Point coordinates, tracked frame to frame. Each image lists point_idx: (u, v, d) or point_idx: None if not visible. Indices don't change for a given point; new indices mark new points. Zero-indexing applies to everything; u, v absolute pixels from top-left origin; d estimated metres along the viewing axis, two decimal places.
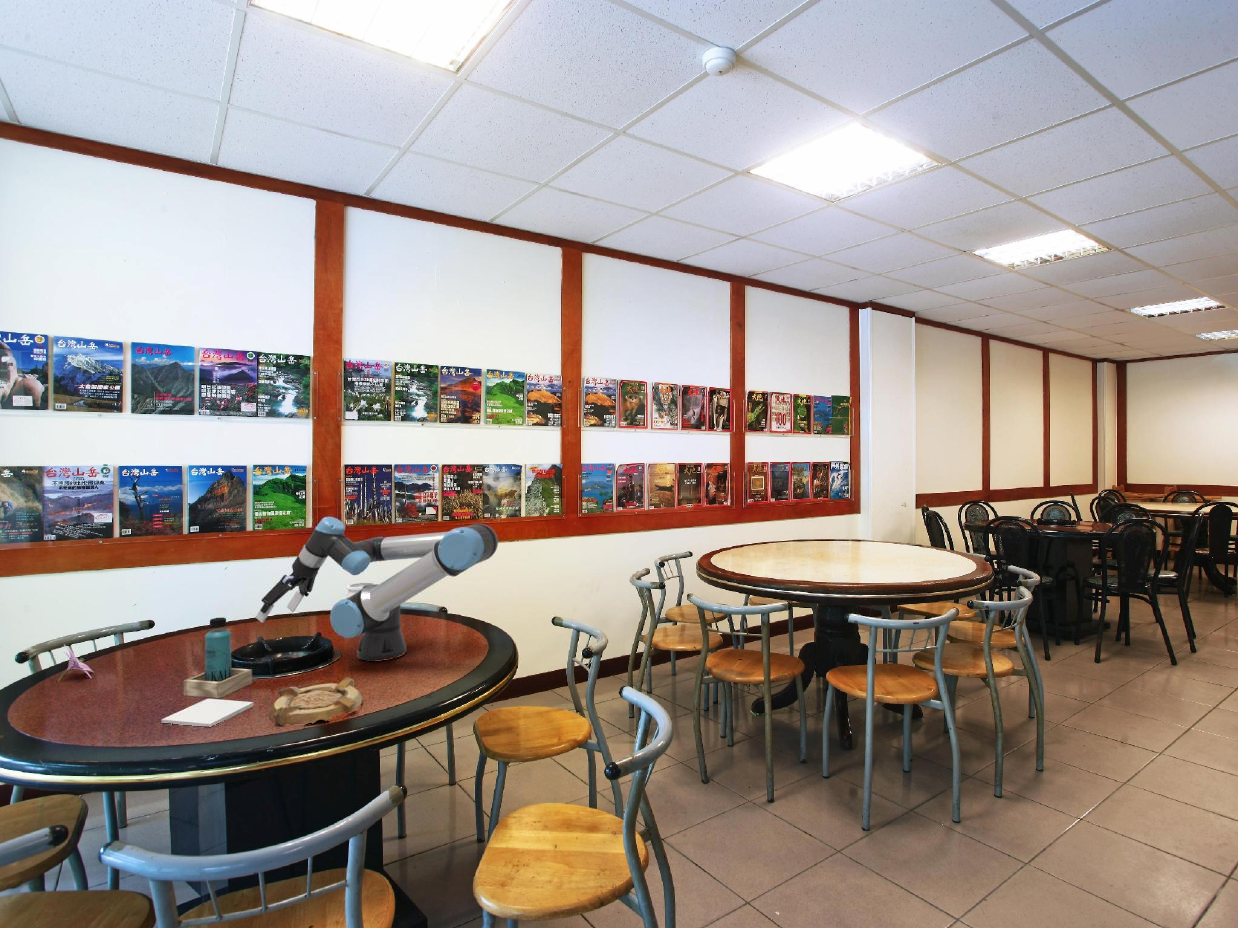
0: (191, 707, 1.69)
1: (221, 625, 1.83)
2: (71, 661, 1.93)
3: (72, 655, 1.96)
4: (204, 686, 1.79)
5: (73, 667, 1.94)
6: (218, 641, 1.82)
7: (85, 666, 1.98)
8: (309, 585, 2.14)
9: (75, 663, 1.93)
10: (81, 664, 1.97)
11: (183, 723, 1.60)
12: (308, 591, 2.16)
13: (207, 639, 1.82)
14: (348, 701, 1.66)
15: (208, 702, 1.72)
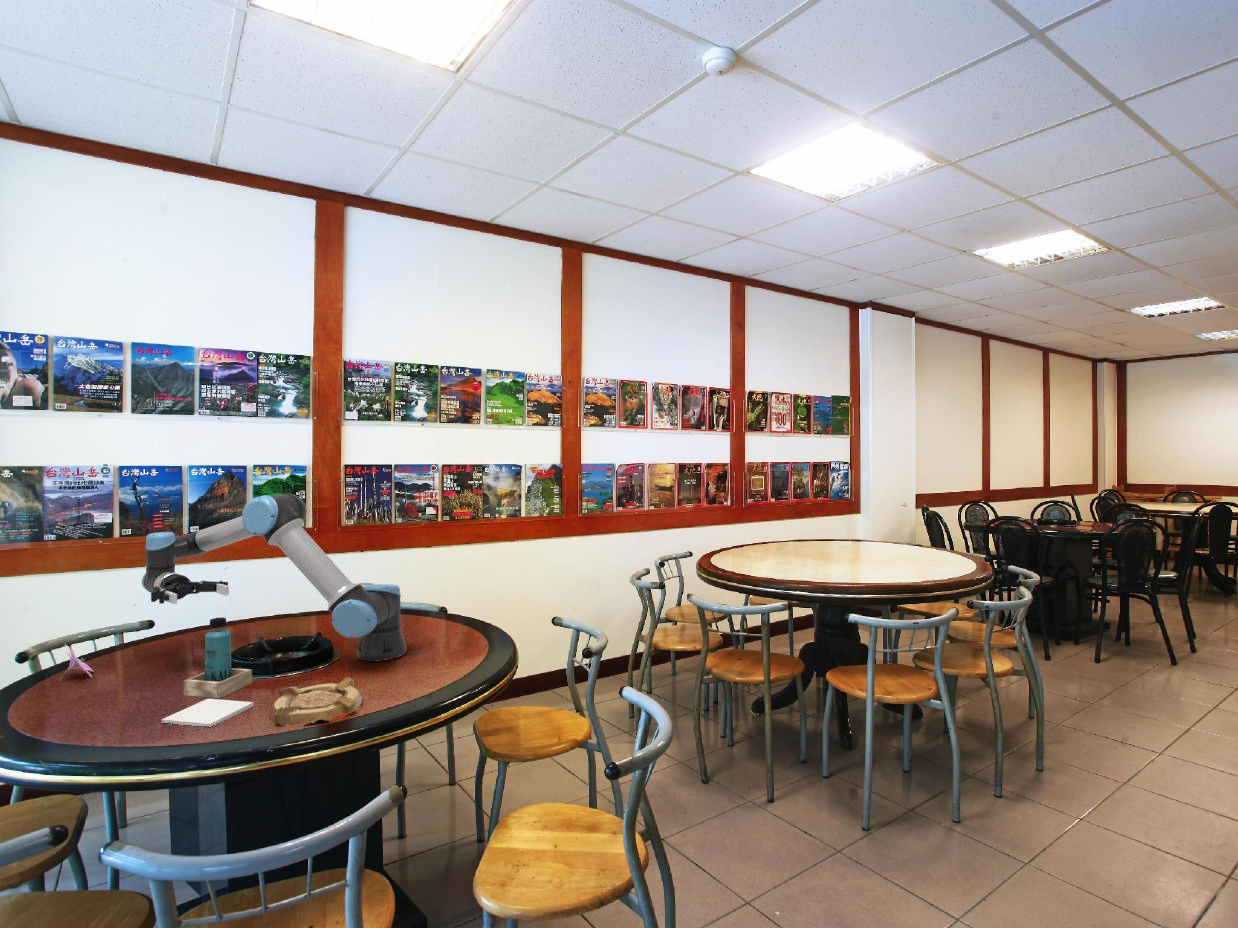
0: (191, 707, 1.69)
1: (221, 625, 1.83)
2: (72, 661, 1.93)
3: (73, 655, 1.96)
4: (204, 686, 1.79)
5: (74, 667, 1.94)
6: (218, 641, 1.82)
7: (86, 666, 1.98)
8: None
9: (76, 663, 1.93)
10: (82, 664, 1.97)
11: (183, 723, 1.60)
12: (224, 583, 2.02)
13: (207, 639, 1.82)
14: (348, 701, 1.66)
15: (208, 702, 1.72)
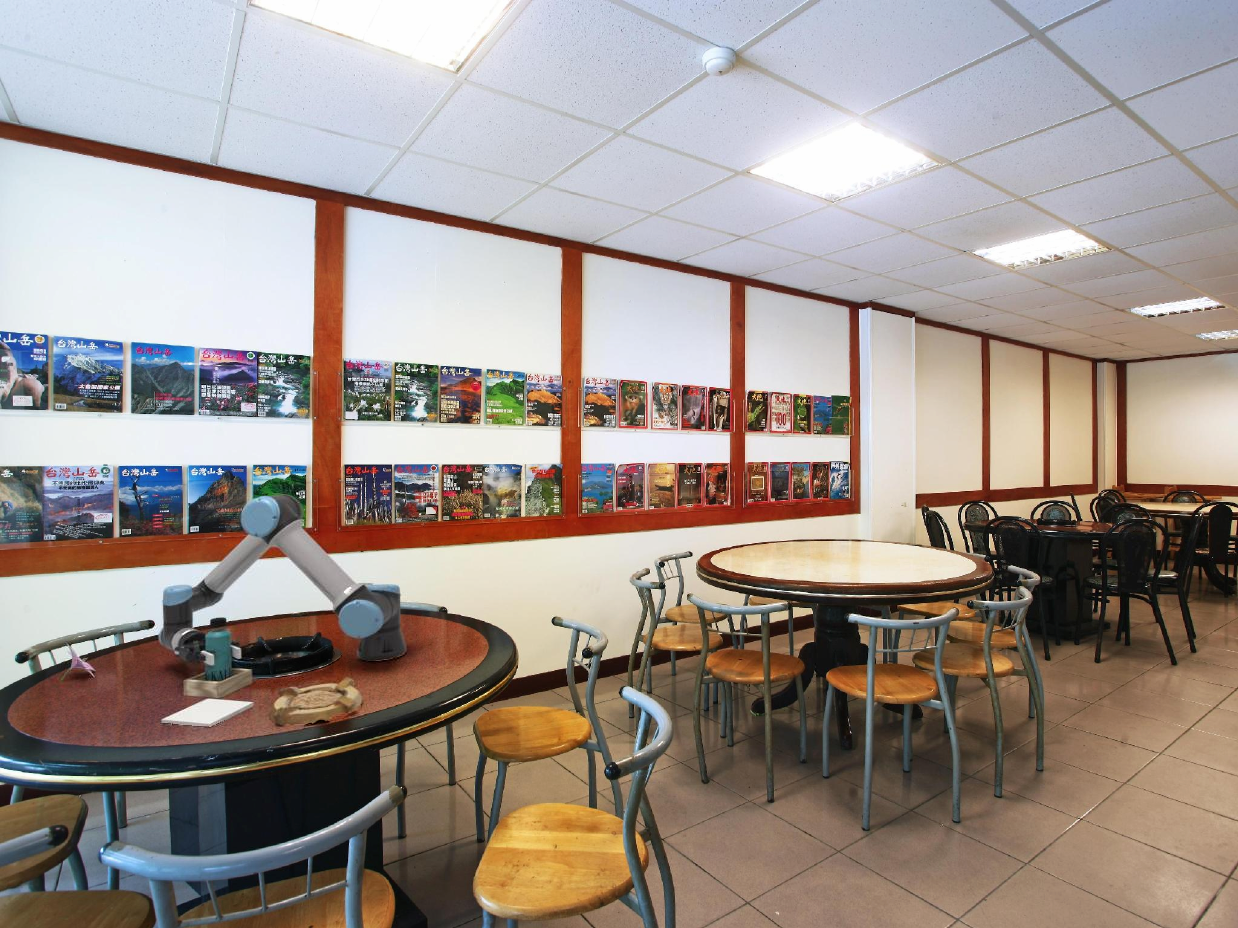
0: (191, 707, 1.69)
1: (221, 625, 1.83)
2: (74, 660, 1.93)
3: (75, 654, 1.96)
4: (204, 686, 1.79)
5: (76, 666, 1.94)
6: (218, 641, 1.82)
7: (88, 665, 1.99)
8: None
9: (78, 662, 1.94)
10: (84, 663, 1.98)
11: (183, 723, 1.60)
12: (235, 644, 1.91)
13: (207, 639, 1.82)
14: (348, 701, 1.66)
15: (208, 702, 1.72)
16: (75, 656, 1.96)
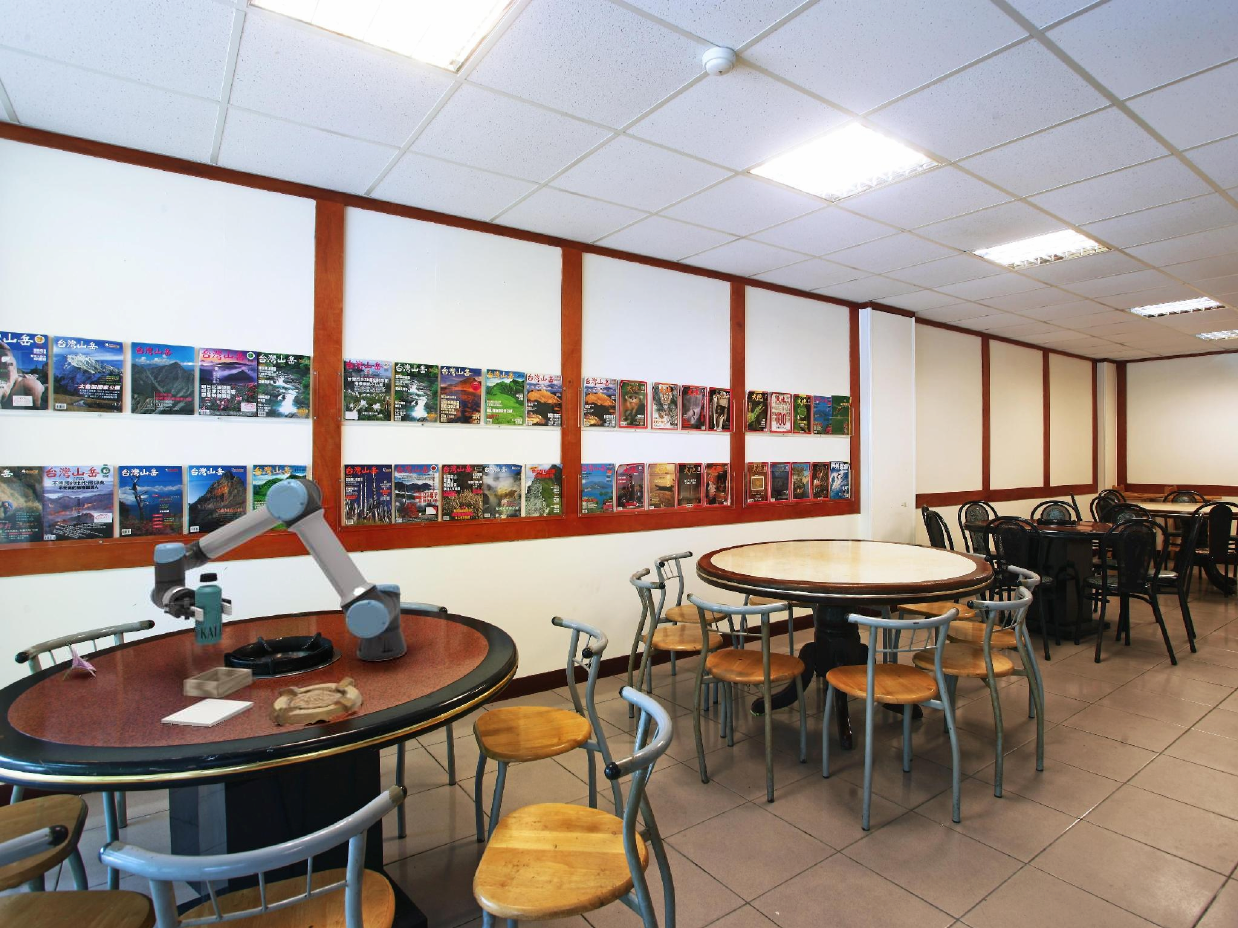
0: (191, 707, 1.69)
1: (211, 580, 1.76)
2: (75, 660, 1.94)
3: (76, 654, 1.97)
4: (204, 686, 1.79)
5: (77, 666, 1.95)
6: (208, 596, 1.75)
7: (89, 665, 1.99)
8: None
9: (79, 662, 1.94)
10: (85, 663, 1.98)
11: (183, 723, 1.60)
12: (227, 601, 1.84)
13: (197, 594, 1.75)
14: (348, 701, 1.66)
15: (208, 702, 1.72)
16: (76, 656, 1.97)
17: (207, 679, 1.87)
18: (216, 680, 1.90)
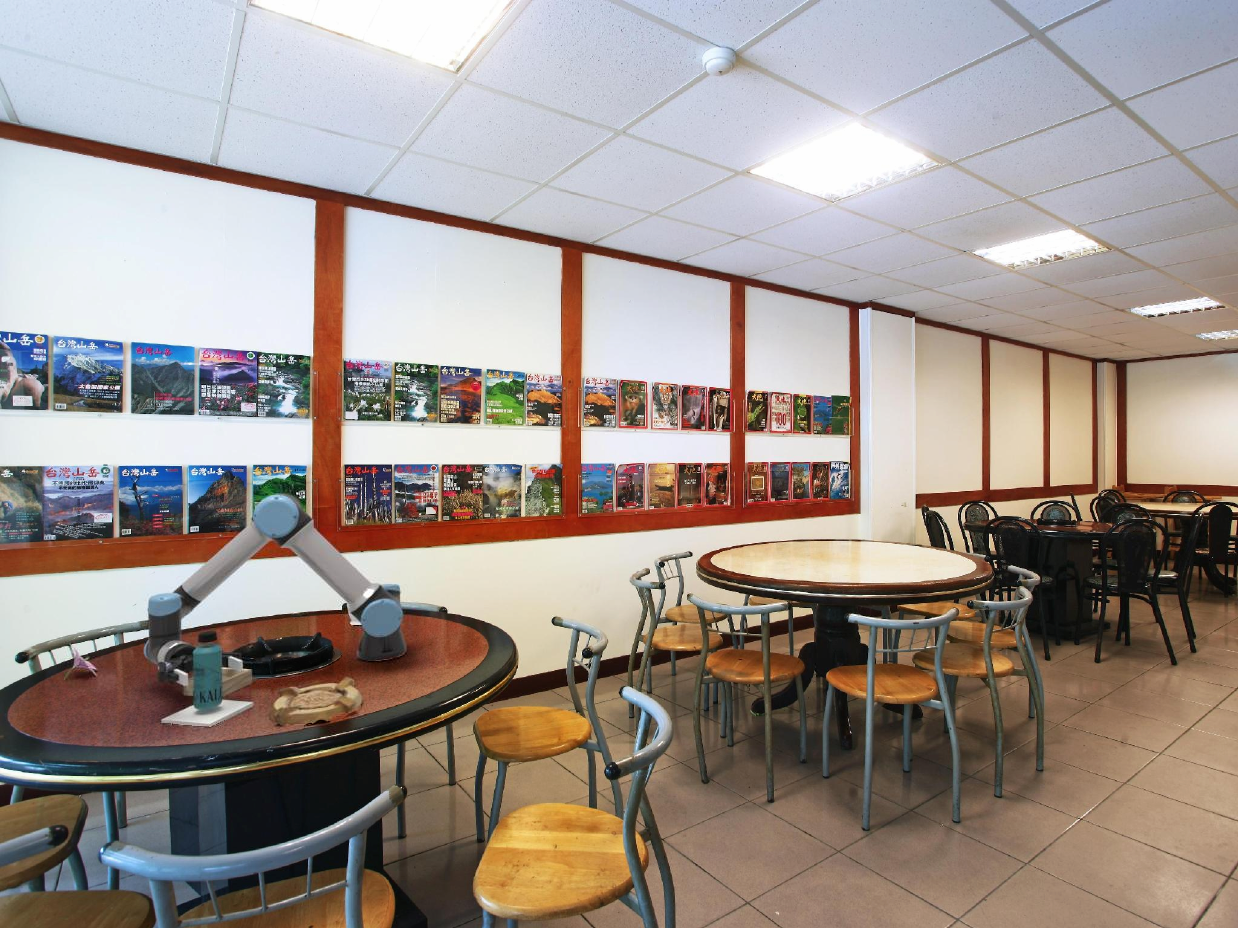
0: (191, 707, 1.69)
1: (211, 640, 1.65)
2: (77, 659, 1.94)
3: (77, 654, 1.97)
4: None
5: (79, 665, 1.95)
6: (207, 657, 1.64)
7: (90, 664, 2.00)
8: (227, 655, 1.76)
9: (81, 661, 1.94)
10: (86, 662, 1.99)
11: (183, 723, 1.60)
12: (236, 655, 1.76)
13: (195, 655, 1.64)
14: (348, 701, 1.66)
15: None
16: (77, 655, 1.97)
17: None
18: None
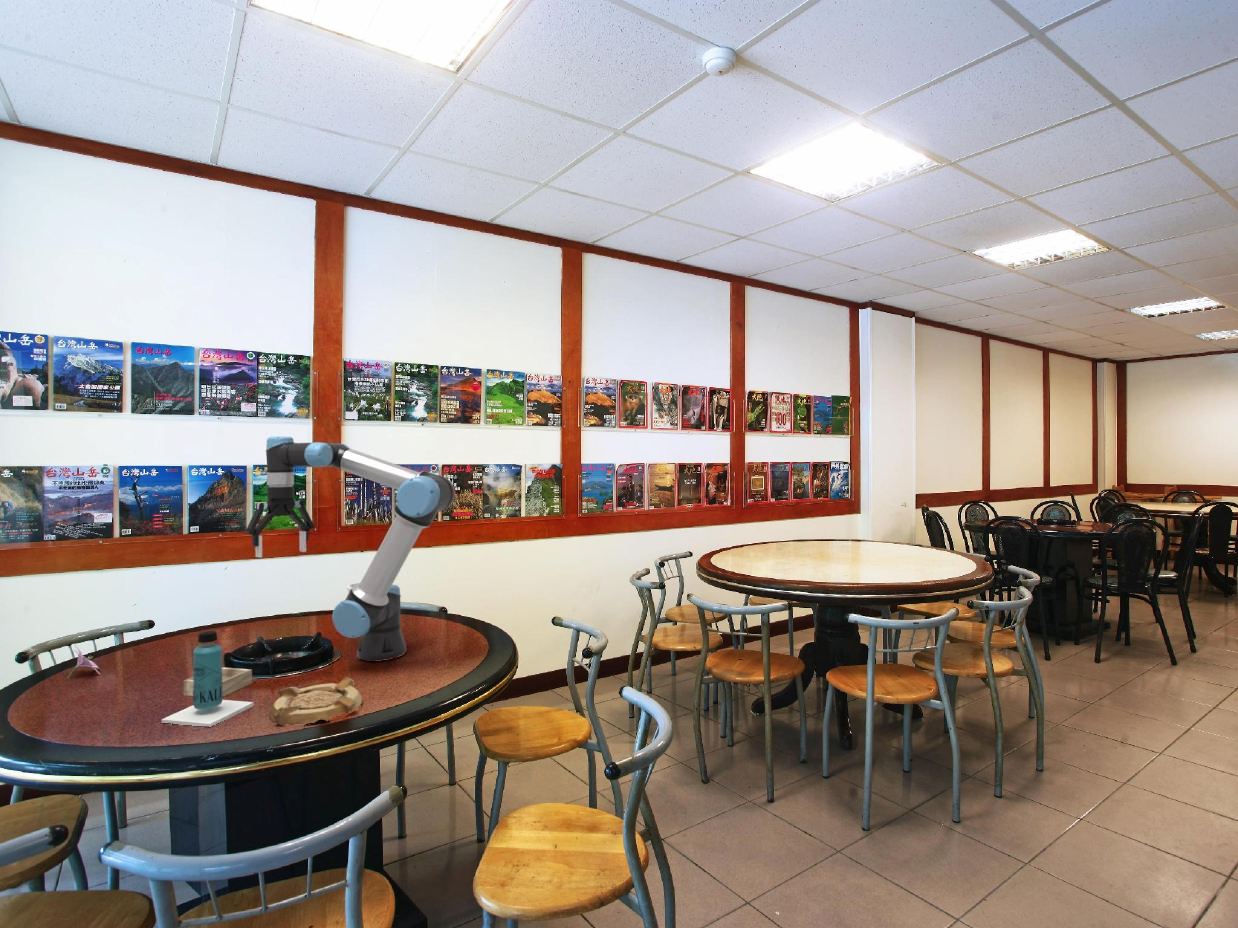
0: (191, 707, 1.69)
1: (211, 640, 1.65)
2: (80, 658, 1.95)
3: (80, 653, 1.98)
4: None
5: (82, 664, 1.96)
6: (207, 657, 1.64)
7: (93, 663, 2.00)
8: (306, 519, 2.11)
9: (84, 660, 1.95)
10: (89, 661, 2.00)
11: (183, 723, 1.60)
12: (310, 527, 2.12)
13: (195, 655, 1.64)
14: (348, 701, 1.66)
15: None
16: (80, 654, 1.98)
17: None
18: None
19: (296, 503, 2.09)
